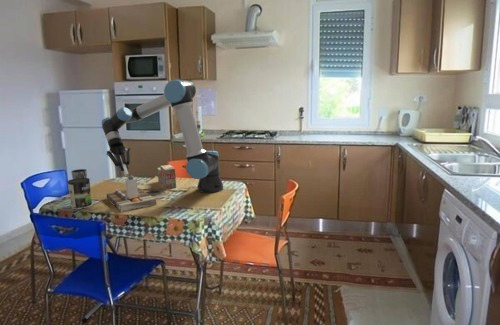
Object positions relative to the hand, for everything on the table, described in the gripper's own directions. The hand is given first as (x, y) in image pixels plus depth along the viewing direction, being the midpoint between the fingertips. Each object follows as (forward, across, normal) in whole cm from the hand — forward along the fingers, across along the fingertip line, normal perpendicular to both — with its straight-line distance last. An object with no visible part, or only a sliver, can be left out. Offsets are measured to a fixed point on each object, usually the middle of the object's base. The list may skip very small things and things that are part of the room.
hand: (126, 175), depth 197 cm
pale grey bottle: (+12, 0, -3) cm, 13 cm away
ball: (+17, 0, 0) cm, 17 cm away
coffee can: (+6, +23, -15) cm, 28 cm away
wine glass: (-9, +19, -29) cm, 36 cm away
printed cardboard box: (-3, -30, -24) cm, 38 cm away
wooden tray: (+13, 0, -7) cm, 15 cm away
